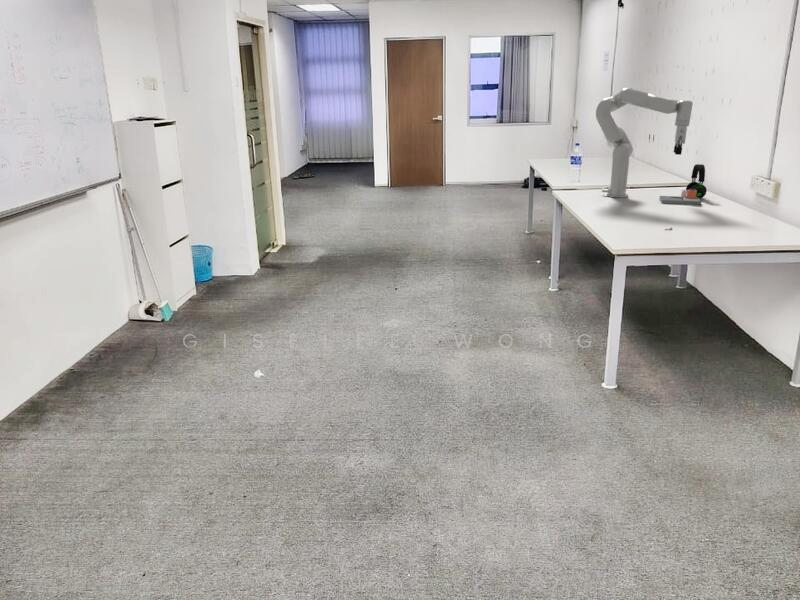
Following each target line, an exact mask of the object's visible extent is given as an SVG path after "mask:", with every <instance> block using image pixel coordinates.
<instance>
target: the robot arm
mask: <svg viewBox="0 0 800 600" xmlns="http://www.w3.org/2000/svg"><path fill="white" fill-rule="evenodd" d="M626 105H631V106H636V107H640V108H643V109H647V110H651V111H655V112H659V113H663V114H667V115H670V114H675V113H676V115H675V122H674V126H676V130H675V135H674V147H673V153H675V155H680V156H681V155H682V151H683V145H685V143H686V139H687V131H688V127H689V126H690V123H691V116H692V110H693V101H692V100H677V99H667V98H664V97H663V98H662V97H659V96H657V95H654V94H652V93H651V92H647V91H642V90H638V89H634V88H632V87H624V88H622V89H621V90H620V92H618V93H615V94H613V95H612V96H610V97H605V98H603V99H602V100H601V101H600V102H599V103H598V105H597V107H596V110H595V117H596V120H597V123H598V125H599V126H600V128H601V131H602V133H603V135H604V137H605V139H606V141H607V142H608V144H609V143H610V144H611V145H612V146H613V151H612V163H611V164H612V165H611V176H610V184H609V185H610V186H609V188H601V192H602V193H606V196H607V197H609V196H610V197H611V198H628V196H629V194H628V193H627V187H628V186H627V185H628V176H629V165H630V157H631V156H632V155H633V151H634V147H633V145H632V144H631V142H630V140H629V138H628V135H627V133H626V132H625V130H624V129H623V128H622V127H619V126H618V125H617V123H616V122H615V119H614V118H613V116H612V114H611V113H612V112H615V111H617V110H618V109H621V108H623V107H624V106H626Z"/></svg>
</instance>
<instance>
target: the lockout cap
mask: <svg viewBox="0 0 800 600" xmlns="http://www.w3.org/2000/svg"><path fill="white" fill-rule="evenodd" d="M696 194H697V191H696V190H695V189H689V190H687V195H686V199H696Z"/></svg>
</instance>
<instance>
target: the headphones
mask: <svg viewBox="0 0 800 600" xmlns="http://www.w3.org/2000/svg"><path fill="white" fill-rule="evenodd" d="M705 176H706V167H705V165H704V164H700V163H698V164H696V163H695V165H694V166H693V168H692V172H691V177H690V178H691V179H692V180H691V182H689V183H688V184H687V186H686V188H685V190H686V191H687V190H689V189H695V190H696V191H697V194H696V197H698V198H699V199H702V198H704V197H705V196H706V195H707V191H708V190H707V187H706V186H705V185H704V182H705V178H706V177H705ZM696 179H698V182H697V180H696Z"/></svg>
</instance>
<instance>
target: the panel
mask: <svg viewBox="0 0 800 600" xmlns="http://www.w3.org/2000/svg"><path fill="white" fill-rule="evenodd" d="M686 197H687V196H686ZM686 197H685V196H683V198H681V196H674V195H673V196H670V195H659V201H660V203H661V204H662V203H666V205H686V204H693V205H692V206H701V205H702V200H700V199H701V198H700V199H699V198H698V197H696V199H686Z"/></svg>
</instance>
